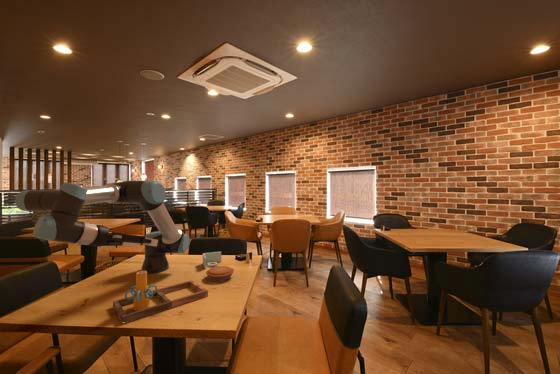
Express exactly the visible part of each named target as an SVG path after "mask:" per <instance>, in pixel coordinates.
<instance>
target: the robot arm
mask: <svg viewBox="0 0 560 374" xmlns="http://www.w3.org/2000/svg"><path fill="white" fill-rule="evenodd" d="M165 199H166V189H165V187H164V185H163V184H162V183H161V182H159V181H158V180H151V179H150V180H149V179H148V180H125V181H118V182H109V183H105V184H104V185H95V186H83V185H81V184H79V183H74V182H64V183H62V184H61V185H60V187H59V188H50V189H26V190H22V191H20V192H19V193H17V194H16V196H15V199H14V203H15V206H16V207H17V209H19V210H20V211H23V212H28V213H29V212H30V213H31V212H33V213H34V212H50V213H49V214H42V215H41V216H39V218H38V220H37V221H36V223H35V225H34V228H33V230H32V231H33V232H32V233H33V236H34V237H35V238H37V239H40V240H45V241H50V242H59V243H67V244H68V243H69V244H75V245H77V246H78V247H81V246H82V245H84V246H90V247H97V248H98V247H99V248H100V247H103V246H104V245H105V244H108V245H114V246H125V247H130V248H139V245H140V246H143V245H144V260H143V263H142V266H141V271H147V274H155V273H162V272H165V271H167V270H168V269H169V268H170V263H169V261H168V259H167V258H168V257H167V254H178V255H180V254H185V253H186V252H187V250H188V249H189V245H190V239H191V238H190V236H189V234H187V233H183V231H182V230H181V229H180V228H178V227H177V226H176V225H175V223H174V220H173V219H172V217H171V216H170V213H169V212H168V210H167V208H166V206H165V204H164V202H165ZM100 203H101V204H102V203H107V204H117V203H118V204H128V205H130V204H132V205H133V204H134V205H135V204H137V205H138V206H139V207H140V208H141V210H142V211H145V212H147V213H148V215H149V216H150V218H151V220H152V221H153V223H154V224H155V227H156V228H157V229H158V230H157V231H151V232H149V233H146V234H145V235H142V236H141V235H137V234H136V235H135V234H127V233H119V232H114V231H113V232H110V228H109V227H108V226H106V225H100V224H96V223H91V222H85V221H79V217H80V215H81V211H82V210H83V208H84V206H85V205H86V206H87V205H93V204H100Z"/></svg>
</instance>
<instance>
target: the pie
mask: <svg viewBox="0 0 560 374" xmlns="http://www.w3.org/2000/svg"><path fill="white" fill-rule="evenodd" d="M234 271H235V269H234V268H233V267H230V266H227V265H226V266H225V265H222V266H220V265H218V266H216V267H210V268H209V269H207V270H206V271H205V275H206V276H207V277H208V278H209V280H210V281H212V282H223V281H224V282H225V281H227V280H229V279H230V278H231V277H232V275H233V274H234Z"/></svg>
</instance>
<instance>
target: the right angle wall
mask: <svg viewBox="0 0 560 374" xmlns="http://www.w3.org/2000/svg"><path fill="white" fill-rule="evenodd" d="M217 262H218V263H217ZM206 263H207V264H206ZM219 263H222V251H213V252H204V253H202V266H203V265H204V266H203V267H204V268H203V269H204V270H207V267H208V268H214V267H215V266H216V267H218V266H219ZM211 264H212V265H211ZM217 265H218V266H217Z"/></svg>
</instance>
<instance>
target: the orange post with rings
mask: <svg viewBox="0 0 560 374" xmlns="http://www.w3.org/2000/svg"><path fill="white" fill-rule="evenodd" d="M152 287H153V288H155V289H154V290H155V291H154V292H153V289H151V288H152ZM157 289H158V286H157V285H155V284H150V285H149V286H148V273H147V271H142V270H140V271H137V272H136V273H135V285H133V286H131V288H130V289H128V290H126V292H125V294H124V298H125V299H127V300H132V299H134V300H133V303H132V305H133V310H134V312H135V311H139V310H142V309H145V308H148V307H151V306H150V304H151V303H150V301H151V300H150V299H152V298H154V297H153V294H155V293H156V291H157ZM149 291H150V292H151V293H149ZM129 293H130V294H131V296H133V297H132V298H128V297H129V296H128V294H129ZM148 294H149V295H151V296H150V297H149V295H148Z"/></svg>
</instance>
